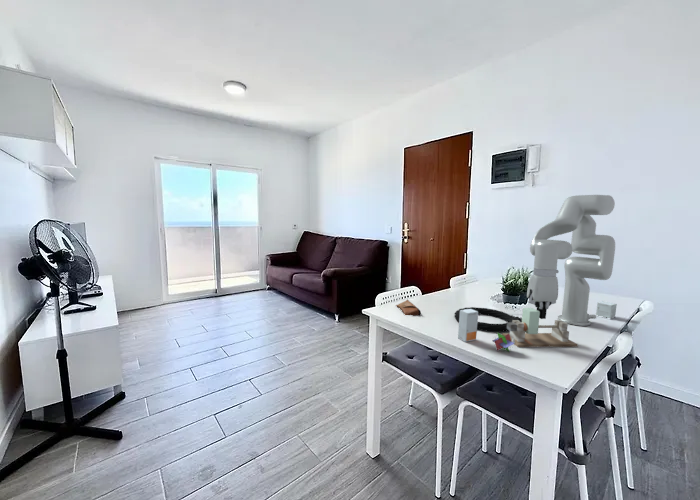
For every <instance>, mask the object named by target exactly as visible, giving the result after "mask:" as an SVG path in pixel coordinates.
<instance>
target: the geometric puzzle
mask: <svg viewBox="0 0 700 500" xmlns="http://www.w3.org/2000/svg"><path fill="white" fill-rule="evenodd" d="M496 335H497V336H494V339H492V342H493V343H494V346H495V349H496V351H497V352H499V351H502V350H505V351H506V352H508V353H510V352H511V349H509V347H512V345H514V344H515V340H514V338H513V337H512V336H511V335H510V334H506V335H505V336H504V335H502V333H501V332H496ZM510 336H511V337H512V342H511V338H510ZM505 351H502V352H505Z"/></svg>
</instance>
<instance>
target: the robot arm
mask: <svg viewBox="0 0 700 500" xmlns="http://www.w3.org/2000/svg"><path fill="white" fill-rule="evenodd" d="M615 206H616V205H615V200H614V197H613V196H612V195H609V194H607V195H606V194H579V195H570V196H568V197H566V198H565V200H563V203H562V205H561V207H560V209H559V211H558V213H557V216H556V217H555V219H554V220H552V221H551V222H548V223H547V224H545V225H544V226H543V225H542V227H540V228H539V229H538V230H537V231H536V232H535V234H534V236H533V237H532V241H531V242H530V245H529V246H530V247H529V252H530V254H531V255H532V256H533V257H534V263H533V274H531V275H530V277H529V280H528V285H527V290H526V291H527V292H526V298H527V299H528V304H530V305H534V306H535V308H536V310H538V311H540V316H539V320H540V319H541V320H546V318H547V310H549V307H550V306H551V305H554V304H557V300H558V298H559V279H558V277H557V274H559V270H558V260H565V262H564V278H565V279H564V292H563V300H562V301H563V302H562V308H561V309H562V310H561V314H560V315H557V320H561V321H563V322H566V323H568V324H569V325H573V326H579V327H585V326H586V327H587V326H588V327H589V326H590V325H591V321H590V319H593V320H595V319H597V316H596V314H590V313H588V308H589V299H590V290H591V287H590V285H589V283H588V281H587V280H586V279H591V280H592V279H593V280H598V281H607V280H609V279H610V278H611V277H612V274H613V271H614V262H615V261H614V260H615V254H616V240H615V239H614V237H613V236H610V235H607V234H606V235H605V234H596V231H597V223H596V220H595V219H594V218H593V217H592V216H607V215H610V214H611V213H612V212H613V211H614V208H615ZM571 232H572V234H571V239H570V240H571V242H569V241H566V240H559V239H558V240H557V239H555V240H554V239H551V238H553V237H557V236H562V235H565V234H567V233H571ZM573 253H575V254H578V255H588V256H597V257H599V258H595V257H585V256H583V257H582V256H571V255H572V254H573Z"/></svg>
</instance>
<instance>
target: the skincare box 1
mask: <svg viewBox="0 0 700 500" xmlns="http://www.w3.org/2000/svg"><path fill="white" fill-rule="evenodd" d="M478 319H479V314H478V311H475V310H473V309H465V310H460V316H459V322H458V331H457V333H458V334H457V339H458V340H461V341H462V342H464V343H467V342H473V341H476V340H477V331H478V329H477V322H479V320H478Z"/></svg>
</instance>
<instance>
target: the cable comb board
mask: <svg viewBox="0 0 700 500" xmlns="http://www.w3.org/2000/svg"><path fill="white" fill-rule="evenodd" d="M506 323H507V329H508V330H510V331H509V332H507V333H506V332H504V333H503V332H501V334H502V335H504V336H505V335H506V334H510V335H511V336H512V337H513V338H514V340H515V344H513V345H514V346H515V347H517V348H553V347H555V348H564V347H565V348H567V347H569V348H571V347H573V348H574V347H577V348H578V345H579V344H578V343H576V342H574V341H572V340H570V339H569V338H570V331H568V323H566V322H563V321H561V320H559V319H555V320H554V324H553V325H552V324H551V325H544V324H543V325H540V324H539V327H538V329H551V332H543V333H541V332H538V334H527V333H525V332H524V331H527V329H528V327H527V324H526V323H522V322H520V321H519V320H512V322H507V321H506ZM511 336H510V338H511V342H512V337H511Z"/></svg>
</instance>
